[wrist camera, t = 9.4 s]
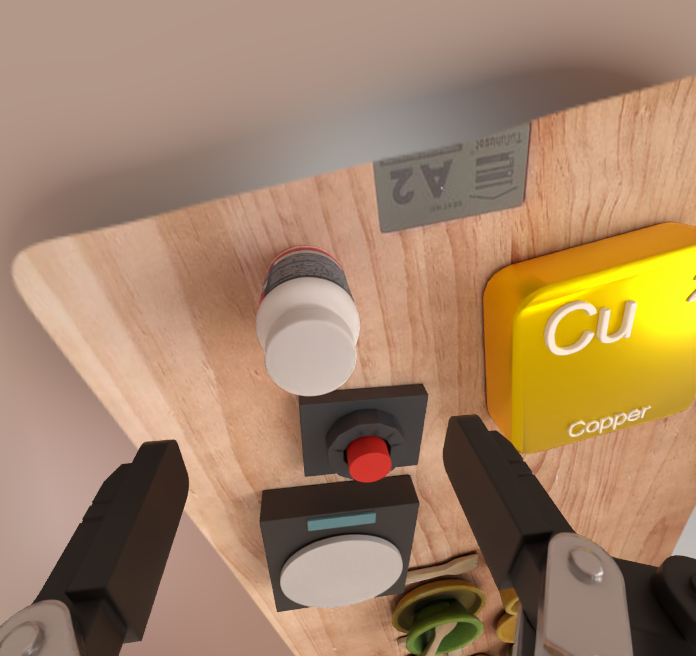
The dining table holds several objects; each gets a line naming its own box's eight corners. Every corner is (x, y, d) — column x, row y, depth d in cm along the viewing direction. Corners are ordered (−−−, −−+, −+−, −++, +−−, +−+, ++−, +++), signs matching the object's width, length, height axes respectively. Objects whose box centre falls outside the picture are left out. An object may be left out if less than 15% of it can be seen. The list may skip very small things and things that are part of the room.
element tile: (486, 423, 31) (515, 467, 27) (479, 271, 23) (518, 298, 19) (645, 379, 31) (699, 416, 27) (689, 213, 23) (774, 228, 19)
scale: (278, 580, 39) (276, 621, 36) (262, 490, 31) (258, 531, 28) (397, 564, 41) (406, 601, 37) (410, 474, 33) (422, 511, 30)
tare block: (304, 463, 30) (305, 493, 28) (299, 393, 26) (299, 420, 24) (413, 452, 31) (423, 480, 29) (423, 383, 28) (436, 408, 25)
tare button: (346, 465, 27) (349, 484, 26) (346, 436, 26) (349, 455, 24) (385, 461, 28) (390, 480, 26) (387, 433, 26) (393, 451, 25)
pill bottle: (254, 254, 21) (228, 320, 13) (336, 235, 21) (360, 290, 13) (278, 327, 23) (269, 418, 16) (352, 310, 24) (378, 392, 16)
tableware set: (375, 569, 40) (387, 637, 35) (598, 514, 41) (644, 571, 36) (409, 684, 61) (420, 738, 55) (558, 646, 61) (583, 695, 56)
